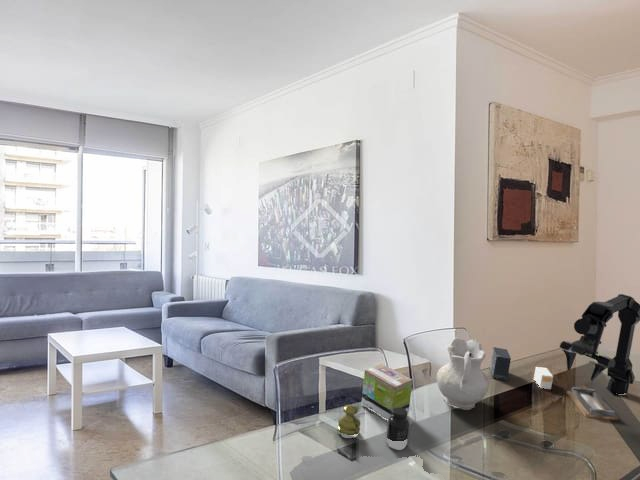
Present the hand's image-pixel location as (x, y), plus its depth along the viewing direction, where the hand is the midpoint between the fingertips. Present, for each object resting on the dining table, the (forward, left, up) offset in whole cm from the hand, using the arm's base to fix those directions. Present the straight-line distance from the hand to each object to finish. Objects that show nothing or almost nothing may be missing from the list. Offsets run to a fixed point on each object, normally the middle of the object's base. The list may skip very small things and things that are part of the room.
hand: (579, 375), depth 187 cm
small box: (+21, -27, -16) cm, 38 cm away
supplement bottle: (+69, +35, -16) cm, 79 cm away
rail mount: (-10, -7, -15) cm, 19 cm away
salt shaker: (+85, +32, -16) cm, 92 cm away
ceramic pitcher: (+43, +3, -16) cm, 46 cm away
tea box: (+73, +15, -16) cm, 76 cm away
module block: (+4, -22, -15) cm, 27 cm away
